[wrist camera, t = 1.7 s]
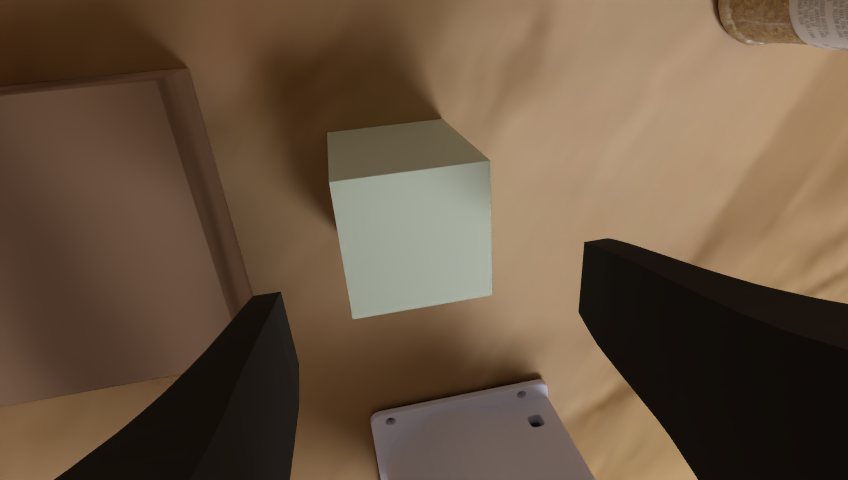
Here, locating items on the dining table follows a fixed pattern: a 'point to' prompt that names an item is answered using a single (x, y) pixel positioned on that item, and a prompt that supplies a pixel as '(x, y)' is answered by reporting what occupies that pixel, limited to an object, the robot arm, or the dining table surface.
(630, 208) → the dining table surface
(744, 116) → the dining table surface
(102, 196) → the walnut block
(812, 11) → the sprinkles bottle
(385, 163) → the sage block
